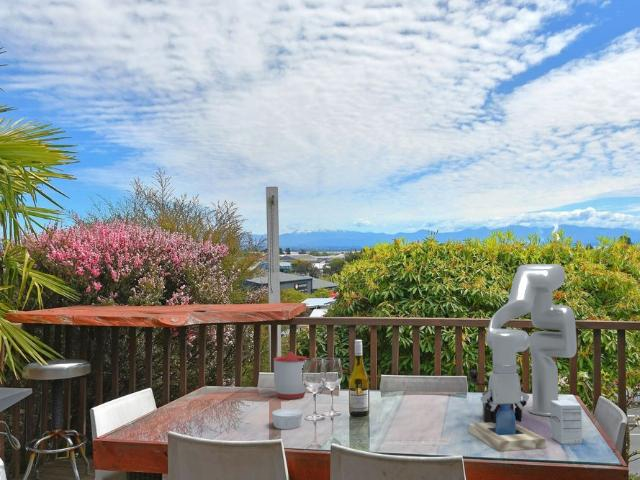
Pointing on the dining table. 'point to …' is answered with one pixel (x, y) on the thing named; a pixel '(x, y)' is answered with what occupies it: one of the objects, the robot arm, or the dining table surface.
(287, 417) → the ramekin
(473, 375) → the coffee grinder
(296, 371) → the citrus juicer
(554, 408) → the supplement box
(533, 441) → the hole board
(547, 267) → the robot arm
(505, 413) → the perfume bottle
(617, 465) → the dining table surface
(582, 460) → the dining table surface
